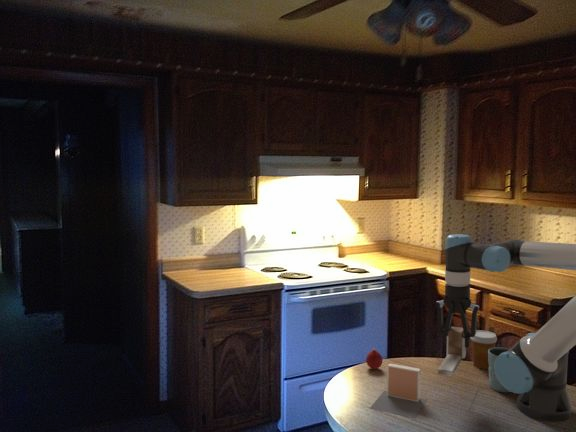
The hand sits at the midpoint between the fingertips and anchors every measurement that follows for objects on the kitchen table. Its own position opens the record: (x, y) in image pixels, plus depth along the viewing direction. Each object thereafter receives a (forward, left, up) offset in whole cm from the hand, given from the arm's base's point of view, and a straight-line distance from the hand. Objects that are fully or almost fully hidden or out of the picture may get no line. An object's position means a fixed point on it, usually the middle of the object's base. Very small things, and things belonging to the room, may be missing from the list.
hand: (456, 355), depth 176 cm
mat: (+14, +14, -14) cm, 24 cm away
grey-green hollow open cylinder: (-13, -15, -14) cm, 24 cm away
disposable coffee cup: (-4, -31, -14) cm, 34 cm away
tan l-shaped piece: (0, +7, 0) cm, 7 cm away
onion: (+30, -9, -14) cm, 34 cm away
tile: (+14, +9, -13) cm, 21 cm away
